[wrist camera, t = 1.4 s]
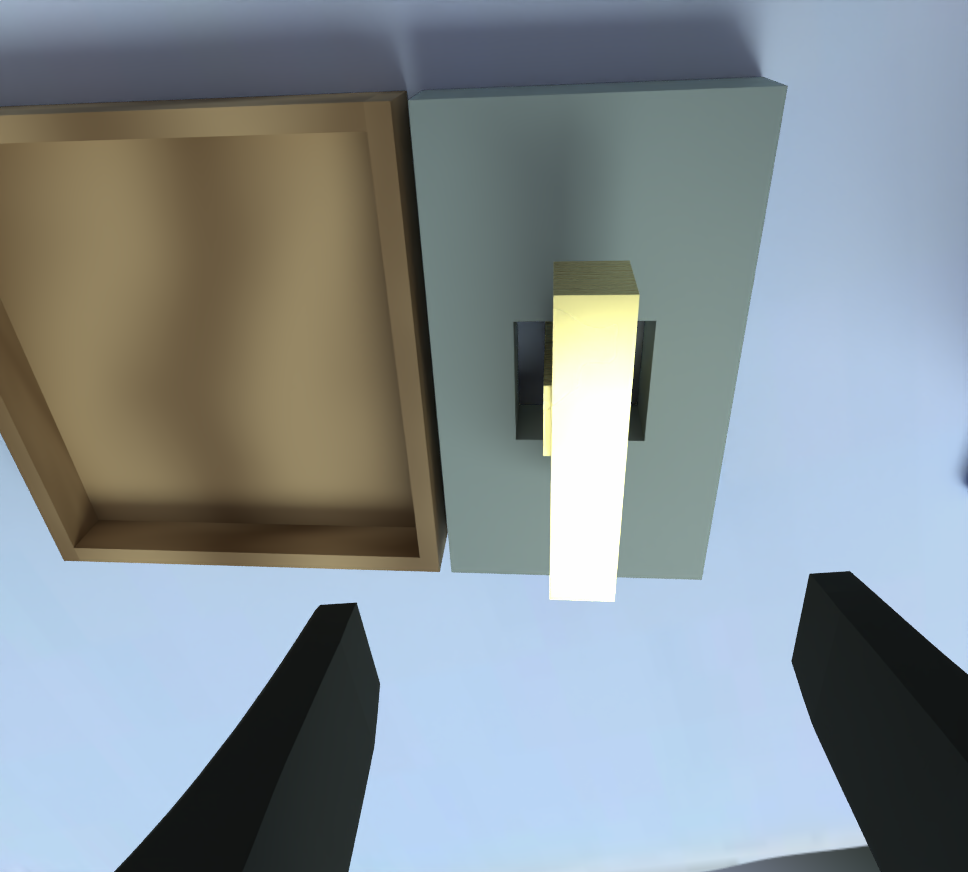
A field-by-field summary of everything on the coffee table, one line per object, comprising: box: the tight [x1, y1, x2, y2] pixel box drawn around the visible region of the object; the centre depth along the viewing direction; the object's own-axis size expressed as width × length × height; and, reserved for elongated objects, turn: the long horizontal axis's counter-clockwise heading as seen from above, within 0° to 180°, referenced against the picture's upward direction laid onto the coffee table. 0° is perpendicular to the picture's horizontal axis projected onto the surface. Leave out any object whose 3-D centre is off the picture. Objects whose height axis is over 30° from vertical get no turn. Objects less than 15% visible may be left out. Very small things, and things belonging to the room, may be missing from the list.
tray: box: [0, 91, 448, 572], centre depth 20 cm, size 13×14×2 cm
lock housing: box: [408, 77, 788, 580], centre depth 19 cm, size 8×14×2 cm, turn 2°
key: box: [543, 260, 640, 601], centre depth 17 cm, size 2×8×6 cm, turn 2°
